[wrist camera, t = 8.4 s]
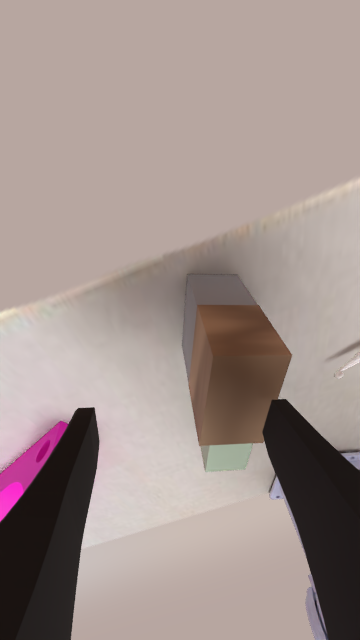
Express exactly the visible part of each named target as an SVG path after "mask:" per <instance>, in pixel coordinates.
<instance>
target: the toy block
mask: <svg viewBox="0 0 360 640" xmlns="http://www.w3.org/2000/svg"><path fill="white" fill-rule="evenodd" d="M67 426H68V424H66V423H64V422H62V421H60V422H59V423H58V424H57V425H56V426H55V427H53V428H52V429H51V430H50V431H49V432H48V433H47V434H45V435H44V436H43V437H42V438H41V439H40V440H39V441H37V442H36V443H35V444H34V445H33V446H32V447H31V448H29V449H28V450H27V451H26V452H25V453H24V454H23V455H21V456H20V457H19V458H18V459H17V460H16V461H15V462H13V463H12V464H11V465H10V466H9V467H8V468H7V469H5V470H4V471H3V472H2V473H1V474H0V522H1V520H2V519H3V518H4V517H5V516H6V514H7V513H8V512H9V511H10V509H11V508H12V507H13V506H14V504H15V503H16V502H17V501H18V499H19V498H20V497H21V496H22V494H23V493H24V492H25V490H26V489H27V488H28V486H29V485H30V483H31V482H32V481H33V479H34V478H35V476H36V475H37V473H38V472H39V471H40V469H41V468H42V466H43V465H44V463H45V462H46V460H47V459H48V457H49V456H50V454H51V453H52V451H53V449H54V448H55V446H56V445H57V443H58V442H59V440H60V438H61V436H62V435H63V433H64V431H65V430H66V428H67Z"/></svg>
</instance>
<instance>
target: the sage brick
mask: <svg viewBox="0 0 360 640" xmlns="http://www.w3.org/2000/svg"><path fill="white" fill-rule="evenodd" d="M252 445H253V443H249V444H229V445H209V446H201V452H202V457H203V463H204V468H205V472H214V471H229V470H245V469H246V466H247V462H248V459H249V455H250V452H251V449H252Z"/></svg>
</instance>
